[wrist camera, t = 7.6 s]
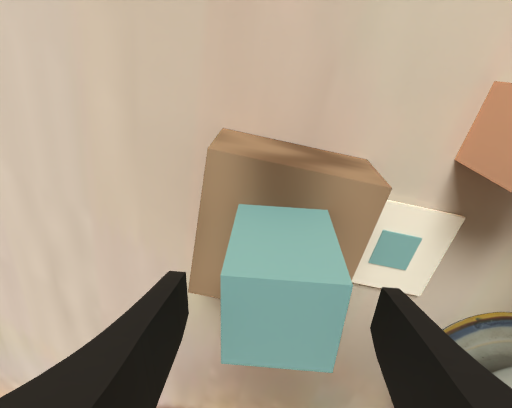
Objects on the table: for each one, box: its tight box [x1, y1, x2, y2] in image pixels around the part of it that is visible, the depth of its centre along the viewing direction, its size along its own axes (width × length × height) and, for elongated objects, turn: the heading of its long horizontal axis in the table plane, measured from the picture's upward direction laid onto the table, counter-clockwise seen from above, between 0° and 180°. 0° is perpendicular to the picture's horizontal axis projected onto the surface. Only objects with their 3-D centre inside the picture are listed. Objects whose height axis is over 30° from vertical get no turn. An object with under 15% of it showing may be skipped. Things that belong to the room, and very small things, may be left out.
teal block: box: [220, 204, 353, 373], centre depth 12 cm, size 4×4×5 cm
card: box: [352, 200, 466, 296], centre depth 19 cm, size 6×6×1 cm
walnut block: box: [188, 128, 392, 299], centre depth 16 cm, size 8×8×4 cm
